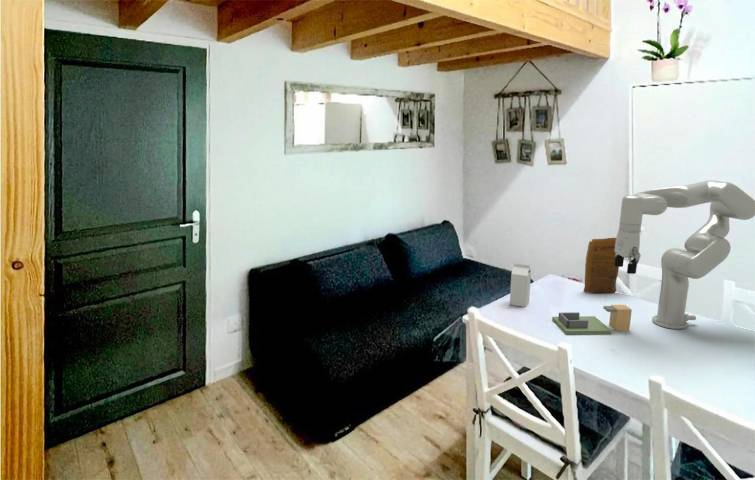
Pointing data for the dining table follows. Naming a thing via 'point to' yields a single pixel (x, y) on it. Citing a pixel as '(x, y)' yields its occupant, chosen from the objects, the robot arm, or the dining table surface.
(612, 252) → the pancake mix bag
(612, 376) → the dining table surface
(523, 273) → the milk carton
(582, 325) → the green base plate
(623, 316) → the tan wooden block
